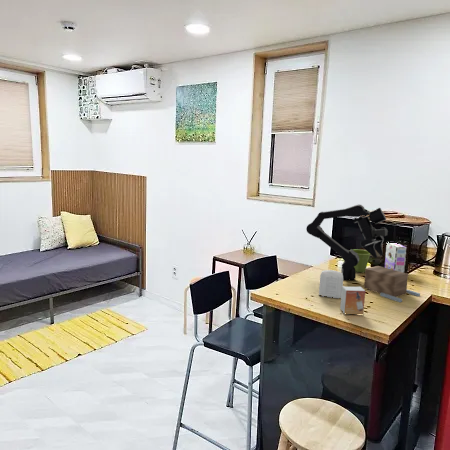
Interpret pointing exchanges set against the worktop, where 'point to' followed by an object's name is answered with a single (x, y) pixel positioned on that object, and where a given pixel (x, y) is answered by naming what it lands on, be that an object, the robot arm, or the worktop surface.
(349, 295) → the small box
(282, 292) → the worktop surface
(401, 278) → the walnut box
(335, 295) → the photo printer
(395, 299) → the bay rails
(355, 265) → the robot arm
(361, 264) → the plant pot
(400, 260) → the candy box
